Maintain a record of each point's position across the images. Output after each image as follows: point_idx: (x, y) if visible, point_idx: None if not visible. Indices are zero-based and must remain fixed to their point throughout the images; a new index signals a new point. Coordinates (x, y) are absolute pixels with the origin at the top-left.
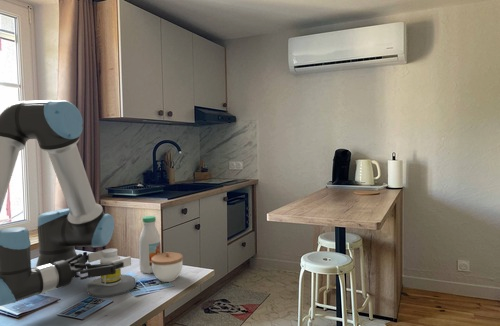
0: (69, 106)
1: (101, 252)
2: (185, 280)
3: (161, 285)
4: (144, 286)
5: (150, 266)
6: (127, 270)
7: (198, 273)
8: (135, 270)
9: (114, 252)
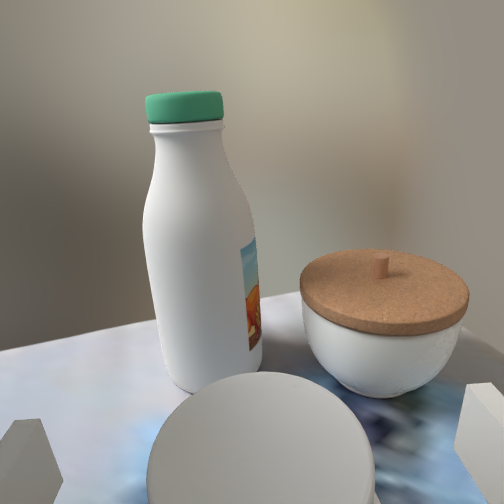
0: None
1: (5, 499)
2: None
3: (449, 422)
4: (415, 487)
5: (252, 352)
6: (110, 424)
7: None
8: (153, 401)
9: (367, 443)
